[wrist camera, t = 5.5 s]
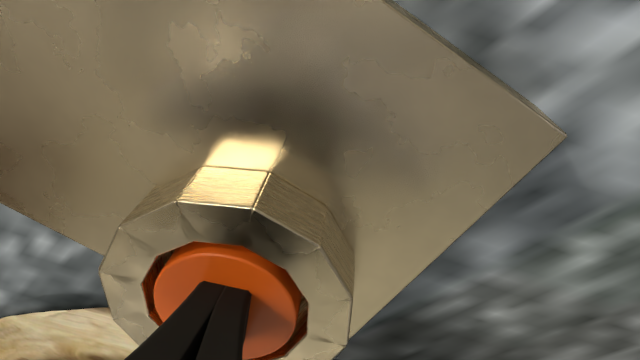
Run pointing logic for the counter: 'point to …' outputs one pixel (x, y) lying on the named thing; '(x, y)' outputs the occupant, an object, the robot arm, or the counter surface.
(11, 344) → the pie
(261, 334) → the button
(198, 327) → the robot arm
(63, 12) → the oven controls
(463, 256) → the counter surface
